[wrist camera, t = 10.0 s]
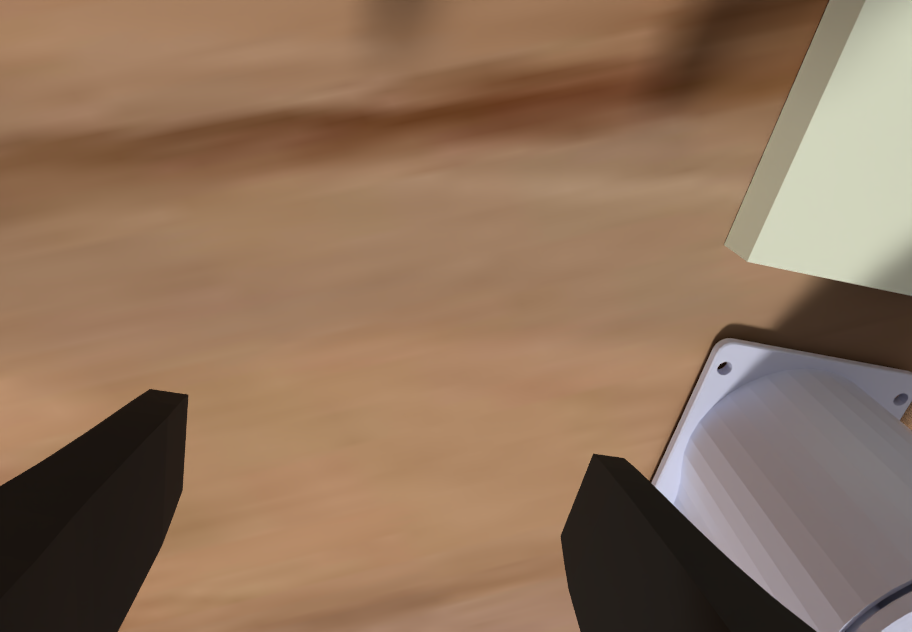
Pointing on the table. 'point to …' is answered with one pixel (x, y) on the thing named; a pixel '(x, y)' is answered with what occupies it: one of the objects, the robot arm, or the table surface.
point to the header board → (840, 156)
